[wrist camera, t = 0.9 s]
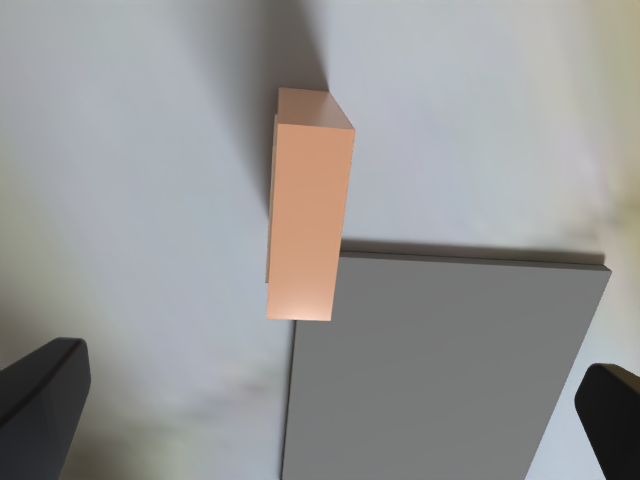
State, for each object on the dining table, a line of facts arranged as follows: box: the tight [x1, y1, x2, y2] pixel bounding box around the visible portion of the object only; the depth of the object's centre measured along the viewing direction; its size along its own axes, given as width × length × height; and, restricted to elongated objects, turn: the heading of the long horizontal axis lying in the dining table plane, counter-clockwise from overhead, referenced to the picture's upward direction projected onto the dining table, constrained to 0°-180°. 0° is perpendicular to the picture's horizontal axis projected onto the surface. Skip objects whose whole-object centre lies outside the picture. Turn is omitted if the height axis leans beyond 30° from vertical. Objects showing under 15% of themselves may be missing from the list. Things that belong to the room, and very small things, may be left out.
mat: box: [281, 251, 612, 480], centre depth 25 cm, size 15×16×1 cm
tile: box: [265, 87, 355, 321], centre depth 16 cm, size 2×6×7 cm, turn 174°
